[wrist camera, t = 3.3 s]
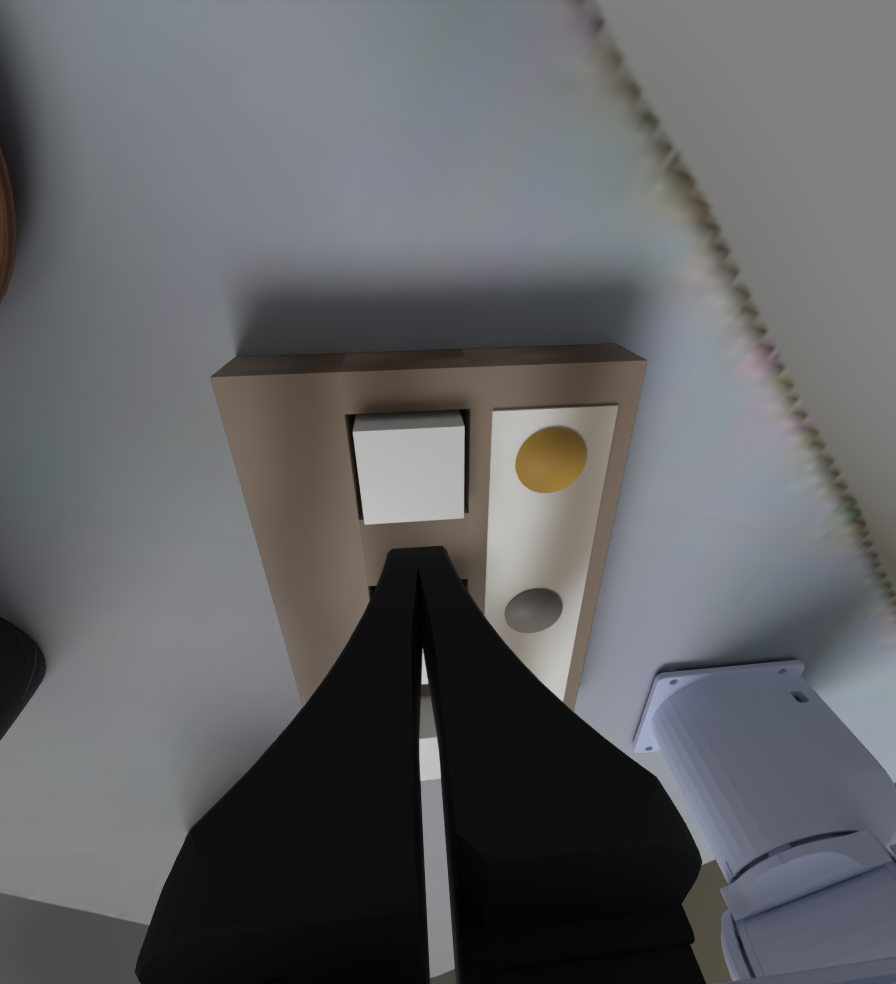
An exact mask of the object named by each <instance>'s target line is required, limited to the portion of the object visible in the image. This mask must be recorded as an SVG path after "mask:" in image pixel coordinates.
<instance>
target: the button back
mask: <svg viewBox="0 0 896 984" xmlns="http://www.w3.org/2000/svg"><path fill="white" fill-rule="evenodd" d="M419 761H420V781H423V780H432V779H441V771H440V758H439V749H438V741H437V734H436V727H435V721H434V715H433V709H432V703H431V696H421V708H420V734H419Z"/></svg>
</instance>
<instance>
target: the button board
mask: <svg viewBox="0 0 896 984" xmlns="http://www.w3.org/2000/svg"><path fill="white" fill-rule="evenodd" d="M646 364H647V360H646V359H644V358H642V357H640V356H638V355H636V354H634V353H632V352H631V351H629V350H627V349H625V348H623V347H621V346H619V345H618V344H591V345H563V346H535V347H506V348H478V349H450V350H422V351H393V352H365V353H337V354H308V355H280V356H252V357H235V358H233V359H232V360H231V361H230V362H228V363H227V364H226V365H225V366H224V367H222V368H221V369H220V370H219V371H217V372H216V373H215V374H214V375H212V376H211V377H210V378H211V382H212V385H213V389H214V392H215V396H216V399H217V403H218V407H219V410H220V414H221V417H222V421H223V424H224V428H225V431H226V435H227V439H228V442H229V446H230V449H231V453H232V456H233V460H234V463H235V467H236V471H237V474H238V478H239V481H240V485H241V488H242V492H243V495H244V499H245V503H246V506H247V510H248V513H249V517H250V520H251V524H252V527H253V531H254V535H255V538H256V542H257V545H258V549H259V552H260V556H261V559H262V563H263V567H264V570H265V574H266V577H267V581H268V584H269V588H270V591H271V595H272V599H273V602H274V606H275V609H276V613H277V616H278V620H279V623H280V627H281V631H282V634H283V638H284V641H285V645H286V648H287V652H288V656H289V659H290V663H291V666H292V670H293V673H294V677H295V680H296V684H297V688H298V691H299V695H300V698H301V702H302V705H303V707H304V705H305V704H306V703H307V701H308V700H309V699H310V697H311V696H312V694H313V693H314V692H315V690H316V689H317V688H318V686H319V685H320V684H321V682H322V681H323V680H324V678H325V677H326V675H327V674H328V672H329V671H330V669H331V668H332V666H333V665H334V663H335V662H336V660H337V659H338V657H339V656H340V654H341V652H342V651H343V649H344V647H345V646H346V644H347V643H348V641H349V639H350V637H351V635H352V634H353V632H354V630H355V628H356V626H357V625H358V623H359V621H360V619H361V617H362V616H363V614H364V612H365V610H366V607H367V605H368V603H369V601H370V599H371V597H372V595H373V592H374V590H375V586H377V583H378V581H379V578H380V576H381V573H382V570H383V567H384V564H385V561H386V557H387V553H388V552H389V551H390V550H391V549H398V548H413V547H428V546H443V547H444V548H446V549H447V552H448V555H449V557H450V560H451V562H452V564H453V566H454V568H455V570H456V572H457V573H458V575H459V577H460V579H461V581H462V582H463V584H464V586H465V587H466V589H467V591H468V592H469V594H470V595H471V597H472V598H473V600H474V601H475V603H476V604H477V606H478V607H479V609H480V610H481V612H482V613H483V614H484V616H485V617H486V619H487V620H488V621H489V623H490V624H491V625H492V626H493V628H494V629H495V630H496V632H497V633H498V634H499V636H500V637H501V638H502V639H503V640H504V642H505V643H506V644H507V645H508V646H509V648H510V649H511V650H512V651H513V652H514V653H515V654H516V656H517V657H518V658H519V659H520V660H521V661H522V662H523V663H524V665H525V666H526V667H527V668H528V669H529V670H530V671H531V672H532V673H533V674H534V675H535V676H536V677H537V678H538V679H539V680H540V681H541V682H542V683H543V684H544V685H545V686H546V687H547V688H548V689H549V690H550V691H552V692H553V693H554V694H555V695H556V696H557V697H558V698H559V699H560V700H561V701H562V702H563V703H565V704H566V705H567V706H568V707H569V708H570V709H571V710H572V711H573V712H574V708H575V703H576V698H577V693H578V689H579V684H580V679H581V674H582V670H583V665H584V660H585V655H586V650H587V646H588V641H589V636H590V631H591V627H592V622H593V617H594V612H595V607H596V603H597V598H598V593H599V588H600V584H601V579H602V574H603V569H604V564H605V560H606V555H607V550H608V545H609V541H610V536H611V531H612V526H613V521H614V517H615V512H616V507H617V502H618V498H619V493H620V488H621V483H622V478H623V474H624V469H625V464H626V459H627V455H628V450H629V445H630V440H631V436H632V431H633V426H634V421H635V416H636V412H637V407H638V402H639V397H640V393H641V388H642V383H643V378H644V373H645V369H646ZM454 409H461V417H462V420H463V423H464V426H465V434H464V518H461V519H445V520H430V521H414V522H399V523H383V524H368V525H365V524H364V516H363V508H362V501H361V493H360V485H359V477H358V469H357V462H356V454H355V446H354V438H353V428H354V423H355V419H354V414H366V413H388V412H410V411H432V410H454ZM421 696H430V690H429V684H422V685H421Z"/></svg>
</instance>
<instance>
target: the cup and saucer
mask: <svg viewBox="0 0 896 984" xmlns="http://www.w3.org/2000/svg"><path fill="white" fill-rule="evenodd" d="M16 238H17V233H16V213H15V206H14V199H13V192H12V187H11V183H10V178H9V174H8V170H7V166H6V162H5V159H4V156H3V153H2V150H1V147H0V303H1V301H2V299H3V297H4V295H5V293H6V290H7V287H8V284H9V281H10V278H11V276H12V270H13V265H14V260H15V252H16Z"/></svg>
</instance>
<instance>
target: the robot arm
mask: <svg viewBox="0 0 896 984" xmlns="http://www.w3.org/2000/svg"><path fill="white" fill-rule="evenodd" d="M423 653H424V659H425V665H426V671H427V678H428V684H429V690H430V696H431V703H432V709H433V715H434V721H435V727H436V734H437V741H438V749H439V758H440V771H441V785H442V798H443V811H444V825H445V838H446V852H447V866H448V879H449V893H450V907H451V921H452V935H453V949H454V962H455V976H456V984H706V982H705V980H704V978H703V975H702V973H701V970H700V968H699V965H698V963H697V960H696V958H695V955H694V953H693V950H692V948H691V945H690V944H692V943H693V942H694V941H695V939H694V934H693V930H692V928H691V925H690V923H689V921H688V918H687V916H686V914H685V911H684V909H683V906H682V902H683V900H684V899H685V897H686V896H687V894H688V892H689V891H690V889H691V888H692V886H693V884H694V883H695V881H696V879H697V877H698V874H699V871H700V868H701V864H702V859H701V856H700V853H699V850H698V848H697V846H696V844H695V842H694V839H693V837H692V835H691V833H690V831H689V829H688V827H687V825H686V823H685V822H684V820H683V818H682V817H681V815H680V813H679V812H678V810H677V808H676V807H675V805H674V803H673V802H672V800H671V799H670V797H669V795H668V794H667V792H666V791H665V789H664V788H663V786H662V784H661V783H660V781H659V780H658V778H657V777H656V776H654V775H653V774H652V773H650V772H649V771H648V770H646V769H645V768H643V767H642V766H641V765H639V764H638V763H637V762H635V761H634V760H633V759H631V758H630V757H628V756H627V755H626V754H625V753H623V752H622V751H621V750H619V749H618V748H617V747H615V746H614V745H613V744H612V743H610V742H609V741H608V740H606V739H605V738H604V737H603V736H602V735H600V734H599V733H598V732H597V731H596V730H594V729H593V728H592V727H591V726H590V725H588V724H587V723H586V722H585V721H583V720H582V719H581V718H580V717H579V716H578V715H576V714H575V713H574V712H573V711H572V710H571V709H570V708H569V707H568V706H567V705H566V704H565V703H563V702H562V701H561V700H560V699H559V698H558V697H557V696H556V695H555V694H554V693H553V692H552V691H550V690H549V689H548V688H547V687H546V686H545V685H544V684H543V683H542V682H541V681H540V680H539V679H538V678H537V677H536V676H535V675H534V674H533V673H532V672H531V671H530V670H529V669H528V668H527V667H526V666H525V665H524V663H523V662H522V661H521V660H520V659H519V658H518V657H517V656H516V654H515V653H514V652H513V651H512V650H511V649H510V648H509V646H508V645H507V644H506V643H505V642H504V640H503V639H502V638H501V637H500V636H499V634H498V633H497V632H496V630H495V629H494V628H493V626H492V625H491V624H490V623H489V621H488V620H487V619H486V617H485V616H484V614H483V613H482V612H481V610H480V609H479V607H478V606H477V604H476V603H475V601H474V600H473V598H472V597H471V595H470V594H469V592H468V591H467V589H466V587H465V586H464V584H463V582H462V581H461V579H460V577H459V575H458V573H457V572H456V570H455V568H454V566H453V564H452V562H451V560H450V557H449V555H448V552H447V549H446V548H444V547H443V546H428V547H413V548H398V549H391V550H390V551H389V552H388V553H387V557H386V561H385V564H384V567H383V570H382V573H381V576H380V578H379V581H378V583H377V586H376V588H375V590H374V592H373V595H372V597H371V599H370V601H369V603H368V605H367V607H366V610H365V612H364V614H363V616H362V617H361V619H360V621H359V623H358V625H357V626H356V628H355V630H354V632H353V634H352V635H351V637H350V639H349V641H348V643H347V644H346V646H345V647H344V649H343V651H342V652H341V654H340V656H339V657H338V659H337V660H336V662H335V663H334V665H333V666H332V668H331V669H330V671H329V672H328V674H327V675H326V677H325V678H324V680H323V681H322V682H321V684H320V685H319V686H318V688H317V689H316V690H315V692H314V693H313V694H312V696H311V697H310V699H309V700H308V701H307V703H306V704H305V705H304V707H303V708H302V709H301V710H300V712H299V713H298V714H297V715H296V717H295V718H294V719H293V720H292V722H291V723H290V724H289V725H288V726H287V728H286V729H285V730H284V731H283V732H282V733H281V734H280V736H279V737H278V738H277V739H276V740H275V741H274V742H273V744H272V745H271V746H270V747H269V748H268V749H267V751H266V752H265V753H264V754H263V755H262V756H261V757H260V759H259V760H258V761H257V762H256V763H255V764H254V765H253V766H252V767H251V769H250V770H249V771H248V772H247V773H246V774H245V775H244V776H243V777H242V778H241V779H240V780H239V781H238V782H237V783H236V784H235V785H234V786H233V787H232V788H231V789H230V790H229V791H228V792H227V793H226V794H225V795H224V796H223V797H222V798H221V799H220V800H219V801H218V802H217V803H216V804H215V805H214V806H213V807H212V808H211V809H210V810H209V811H208V812H207V813H206V814H205V815H204V816H203V817H202V818H201V819H200V820H199V821H198V822H197V823H196V824H195V825H194V826H193V827H192V828H191V830H190V832H189V834H188V836H187V838H186V840H185V842H184V844H183V846H182V848H181V850H180V852H179V854H178V856H177V858H176V860H175V863H174V865H173V867H172V870H171V872H170V874H169V876H168V878H167V880H166V882H165V884H164V887H163V889H162V892H161V894H160V897H159V900H158V902H157V905H156V908H155V911H154V914H153V917H152V920H151V922H150V925H149V928H148V931H147V934H146V937H145V940H144V943H143V946H142V948H141V951H140V954H139V957H138V960H137V964H136V970H135V973H136V975H137V977H138V980H139V981H140V983H141V984H430V972H429V951H428V931H427V910H426V889H425V868H424V847H423V826H422V805H421V783H420V761H419V734H420V708H421V682H422V654H423ZM804 669H805V665H804V664H803V663H802V662H801V661H799V660H790V661H780V662H769V663H759V664H748V665H737V666H727V667H716V668H706V669H695V670H684V671H674V672H664V673H660V674H658V675H657V676H656V678H655V680H654V683H653V686H652V689H651V692H650V695H649V698H648V701H647V704H646V707H645V710H644V713H643V716H642V719H641V722H640V725H639V728H638V731H637V733H636V736H635V739H634V742H633V749H634V751H635V752H636V753H647V752H656V751H662V753H663V755H664V757H665V759H666V761H667V763H668V765H669V767H670V769H671V771H672V773H673V775H674V777H675V779H676V781H677V783H678V785H679V787H680V789H681V791H682V793H683V795H684V797H685V799H686V801H687V803H688V805H689V807H690V809H691V811H692V813H693V815H694V817H695V819H696V821H697V823H698V825H699V827H700V829H701V831H702V833H703V835H704V837H705V839H706V841H707V843H708V845H709V846H710V848H711V850H712V852H713V854H714V856H715V858H716V860H717V862H718V864H719V866H720V868H721V870H722V872H723V874H724V876H725V878H726V880H727V882H728V884H729V885H728V886H726V887H724V888H722V889H721V890H720V891H721V893H722V895H723V898H724V899H725V901H726V904H727V906H728V908H729V910H728V911H726V912H725V913H724V914H723V915H722V920H721V923H722V933H721V942H722V949H723V953H724V957H725V960H726V964H727V967H728V970H729V973H730V975H731V978H732V981H730V982H723V983H717V984H896V787H895V785H894V783H893V781H892V780H891V778H890V777H889V775H888V774H887V772H886V771H885V769H884V768H883V767H882V766H881V765H880V763H879V762H878V761H877V760H876V759H875V758H874V756H873V755H872V754H871V753H870V752H869V751H868V750H867V749H866V748H865V746H864V745H863V744H862V743H861V742H860V741H859V740H858V739H857V738H856V736H855V735H854V734H853V733H852V732H851V731H850V730H849V729H848V728H847V726H846V725H845V724H844V723H843V722H842V721H841V720H840V719H839V718H838V716H837V715H836V714H835V713H834V712H833V711H832V710H831V709H830V708H829V706H828V705H827V704H826V703H825V702H824V701H823V700H822V699H821V697H820V696H819V695H818V694H817V693H816V692H815V691H814V690H813V689H812V687H811V686H810V685H809V684H808V683H807V682H806V681H805V680H804V679H803V677H802V676H801V674H802V673H803V671H804Z"/></svg>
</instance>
